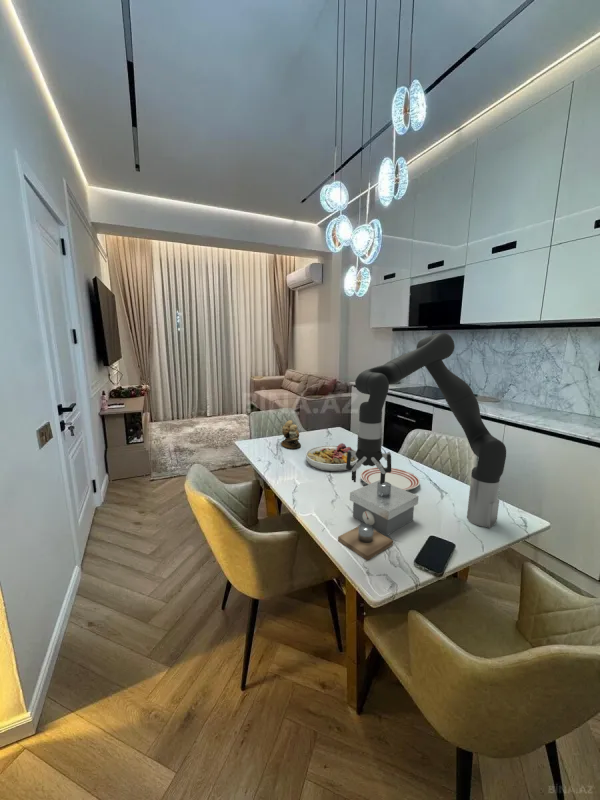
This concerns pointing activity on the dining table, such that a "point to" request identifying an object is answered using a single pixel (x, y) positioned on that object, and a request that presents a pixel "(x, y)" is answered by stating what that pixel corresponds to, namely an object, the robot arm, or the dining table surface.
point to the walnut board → (362, 548)
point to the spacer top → (365, 533)
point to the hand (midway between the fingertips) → (367, 482)
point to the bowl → (330, 457)
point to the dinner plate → (391, 478)
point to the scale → (382, 519)
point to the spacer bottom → (384, 489)
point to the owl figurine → (290, 436)
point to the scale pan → (384, 500)
